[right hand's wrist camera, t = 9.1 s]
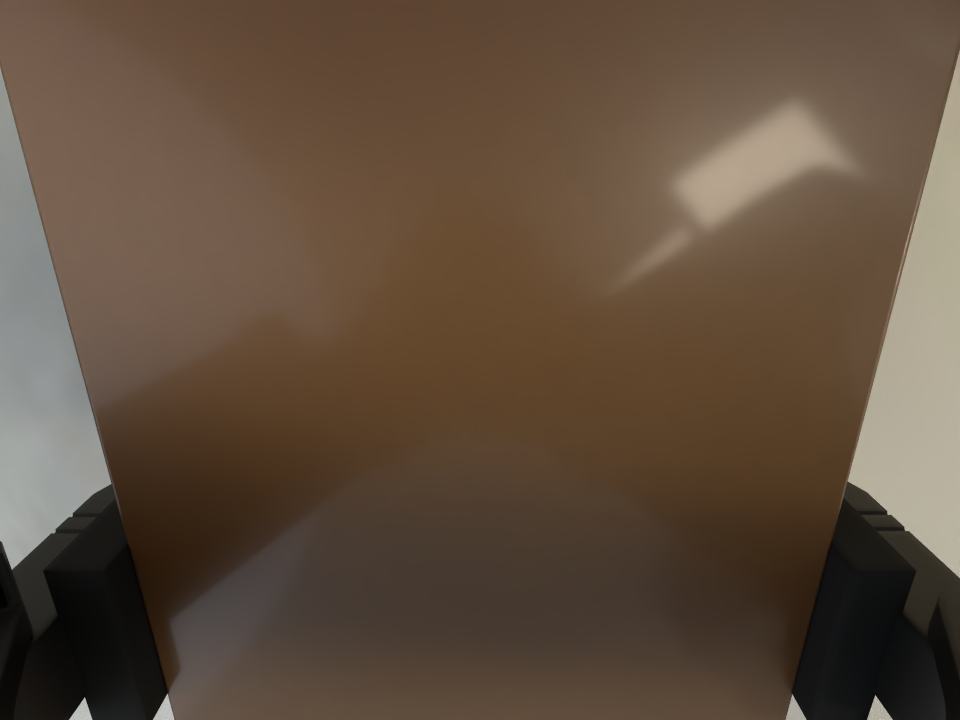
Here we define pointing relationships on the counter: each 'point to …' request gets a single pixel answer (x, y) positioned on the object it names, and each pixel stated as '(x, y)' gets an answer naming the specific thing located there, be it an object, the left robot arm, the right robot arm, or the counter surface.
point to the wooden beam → (478, 332)
